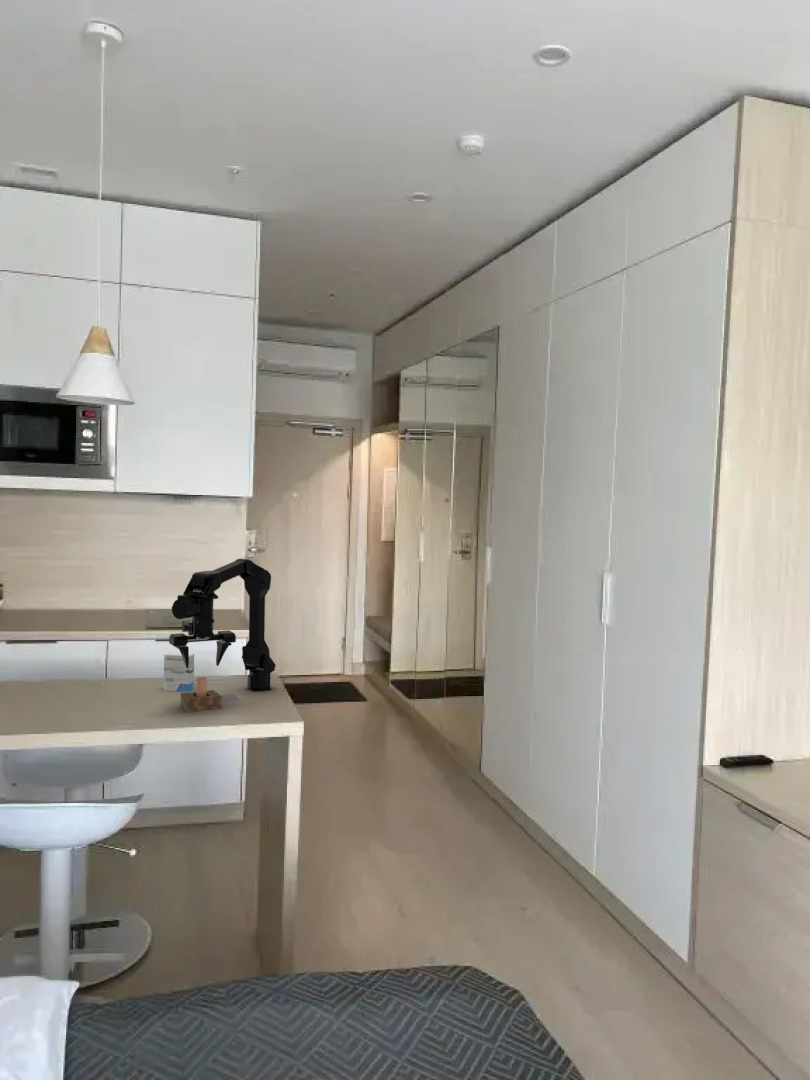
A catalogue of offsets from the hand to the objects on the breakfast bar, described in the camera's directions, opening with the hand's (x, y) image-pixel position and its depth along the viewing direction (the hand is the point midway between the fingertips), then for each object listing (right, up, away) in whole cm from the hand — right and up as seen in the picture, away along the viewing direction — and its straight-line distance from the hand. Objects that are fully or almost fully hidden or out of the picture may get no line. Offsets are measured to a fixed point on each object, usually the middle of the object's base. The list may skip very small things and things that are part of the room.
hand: (202, 666), depth 249 cm
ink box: (-13, -11, +21) cm, 26 cm away
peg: (0, -12, 0) cm, 12 cm away
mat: (+4, -12, +11) cm, 17 cm away
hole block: (-1, -12, 0) cm, 12 cm away
